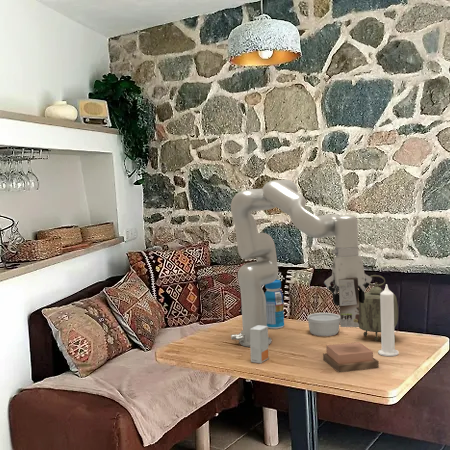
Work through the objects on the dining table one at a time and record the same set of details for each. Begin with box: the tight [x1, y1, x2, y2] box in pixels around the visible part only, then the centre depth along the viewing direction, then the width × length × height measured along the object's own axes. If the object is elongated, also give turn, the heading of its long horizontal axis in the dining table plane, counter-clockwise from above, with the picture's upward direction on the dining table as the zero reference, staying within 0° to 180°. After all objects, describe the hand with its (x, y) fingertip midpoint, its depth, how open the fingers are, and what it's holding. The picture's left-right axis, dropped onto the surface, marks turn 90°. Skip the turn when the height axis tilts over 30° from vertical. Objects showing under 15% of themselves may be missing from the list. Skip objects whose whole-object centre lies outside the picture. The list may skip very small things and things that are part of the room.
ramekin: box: [307, 312, 340, 337], centre depth 243 cm, size 13×13×7 cm
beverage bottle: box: [264, 279, 285, 330], centre depth 256 cm, size 8×8×20 cm
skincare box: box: [249, 325, 270, 364], centre depth 210 cm, size 6×4×12 cm
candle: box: [377, 283, 400, 357], centre depth 211 cm, size 7×7×25 cm
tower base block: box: [322, 352, 380, 374], centre depth 203 cm, size 14×14×3 cm
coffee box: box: [338, 278, 359, 328], centre depth 201 cm, size 9×6×16 cm
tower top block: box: [325, 341, 374, 364], centre depth 203 cm, size 12×12×3 cm
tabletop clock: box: [358, 274, 399, 342], centre depth 229 cm, size 14×9×25 cm, turn 63°
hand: (349, 303), depth 201 cm, fingers closed on coffee box, 8 cm apart
